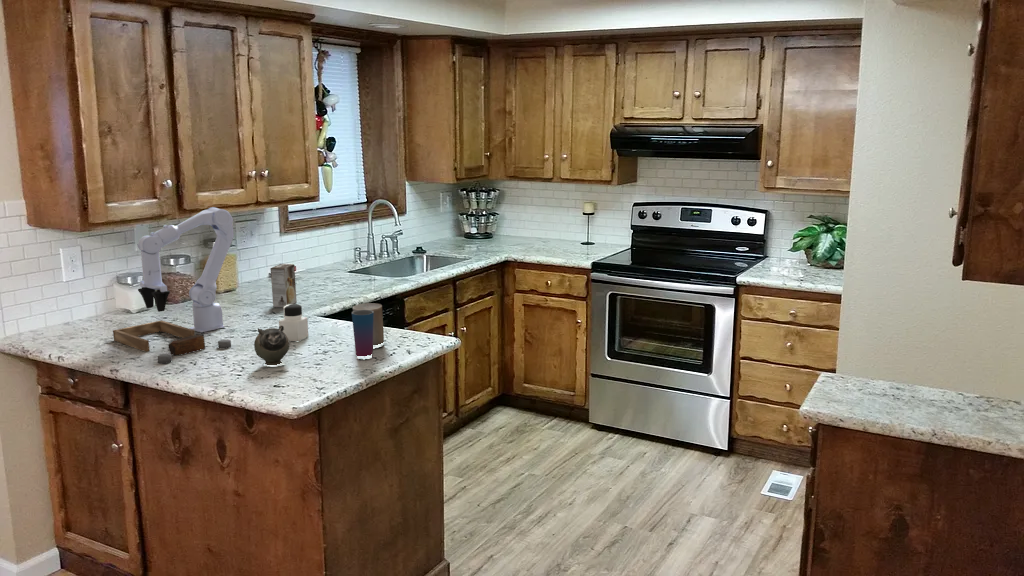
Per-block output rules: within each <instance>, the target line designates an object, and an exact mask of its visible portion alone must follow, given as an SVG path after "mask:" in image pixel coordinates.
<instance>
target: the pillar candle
mask: <svg viewBox="0 0 1024 576" xmlns="http://www.w3.org/2000/svg"><path fill="white" fill-rule="evenodd" d="M356 310H372V311H373V312H374V315H373V345H378V344H381V343H383V342H384V343H385V335H384V332H385V331H384V319H383V317H384V316H383V305H382V304H381V303H377V302H376V303H374V302H373V303H371V302H367V303H359V304H356V305H353V306H352V312H353V311H356Z"/></svg>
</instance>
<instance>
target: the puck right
mask: <svg viewBox="0 0 1024 576" xmlns="http://www.w3.org/2000/svg"><path fill="white" fill-rule="evenodd" d="M217 346H218V347H219V348H218V349H220V348H225V349H230V348H231V347H232V341H231V340H230V339H220V340H218V341H217ZM229 347H230V348H229Z"/></svg>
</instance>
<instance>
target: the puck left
mask: <svg viewBox="0 0 1024 576" xmlns="http://www.w3.org/2000/svg"><path fill="white" fill-rule="evenodd" d="M156 357H157V364H159V365H166V364H170V363H172V362H171V361H172V354H171V353H162V354H159V355H157V356H156Z"/></svg>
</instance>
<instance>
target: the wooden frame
mask: <svg viewBox="0 0 1024 576" xmlns="http://www.w3.org/2000/svg"><path fill="white" fill-rule="evenodd" d="M189 328H190V327H189ZM189 328H188V327H185V326H183V325H178V324H176V323H173V322H172V323H171V322H168V321H165V320H158V321H157V320H156V321H152V322H147V323H141V324H137V325H133V326H128V327H123V328H122V327H121V328H118V329H113V331H112V334H113V335H112V336H113V342H117V343H119V344H122V345H126V346H128V347H131V348H133V347H134V349H136V350H140V351H143V352H144V353H148V352H150V351H151V350H150V342H149V340H148V339H145V338H142V337H141V336H146V335H149V334H150V333H151V334H155V332H156V333H160V332H162V333H165V332H166V333H165V334H168V333H169V334H168V335H171V334H172V336H174V335H175V337H177V336H179V337H178V338H181V337H182V338H185V337H189V336H193V335H196V334H195V332H196V331H194V330H192V329H189ZM159 331H160V332H159Z"/></svg>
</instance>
